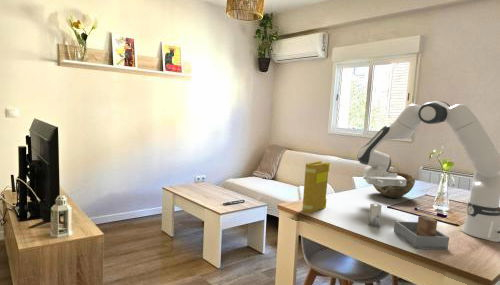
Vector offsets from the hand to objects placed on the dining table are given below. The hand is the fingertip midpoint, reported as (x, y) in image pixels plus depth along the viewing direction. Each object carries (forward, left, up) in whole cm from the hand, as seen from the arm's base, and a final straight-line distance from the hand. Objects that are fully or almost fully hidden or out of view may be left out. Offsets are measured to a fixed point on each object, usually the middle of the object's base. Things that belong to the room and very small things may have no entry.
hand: (392, 184), depth 166 cm
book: (+37, -11, -18) cm, 42 cm away
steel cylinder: (+13, +11, -18) cm, 25 cm away
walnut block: (0, +31, -17) cm, 35 cm away
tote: (0, +27, -18) cm, 33 cm away
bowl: (-22, -45, -18) cm, 54 cm away
